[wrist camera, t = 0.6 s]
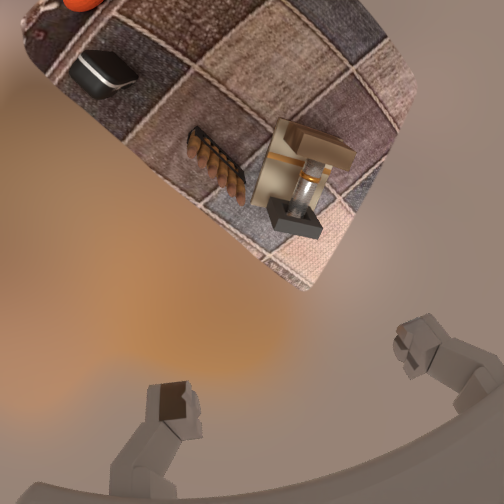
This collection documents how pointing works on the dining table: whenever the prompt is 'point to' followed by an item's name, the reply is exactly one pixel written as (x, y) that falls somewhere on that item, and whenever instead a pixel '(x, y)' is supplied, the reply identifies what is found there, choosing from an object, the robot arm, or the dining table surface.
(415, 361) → the robot arm
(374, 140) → the dining table surface
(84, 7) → the clementine
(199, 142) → the ammunition clip
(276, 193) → the pipe stand
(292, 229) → the collar
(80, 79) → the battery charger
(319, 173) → the steel pipe
